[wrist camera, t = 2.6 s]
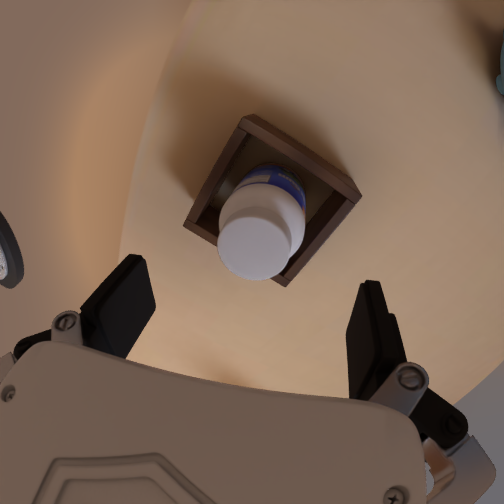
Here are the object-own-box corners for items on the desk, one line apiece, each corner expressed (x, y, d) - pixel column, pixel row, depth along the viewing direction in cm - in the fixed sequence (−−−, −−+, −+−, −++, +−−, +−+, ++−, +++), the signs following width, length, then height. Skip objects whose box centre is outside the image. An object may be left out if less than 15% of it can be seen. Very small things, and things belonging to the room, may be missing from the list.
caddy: (198, 207, 25) (182, 226, 22) (253, 113, 20) (242, 116, 17) (288, 261, 27) (285, 288, 23) (353, 180, 22) (362, 196, 18)
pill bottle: (315, 209, 24) (320, 275, 15) (258, 231, 26) (235, 302, 17) (288, 150, 21) (278, 185, 13) (229, 177, 23) (186, 226, 15)
